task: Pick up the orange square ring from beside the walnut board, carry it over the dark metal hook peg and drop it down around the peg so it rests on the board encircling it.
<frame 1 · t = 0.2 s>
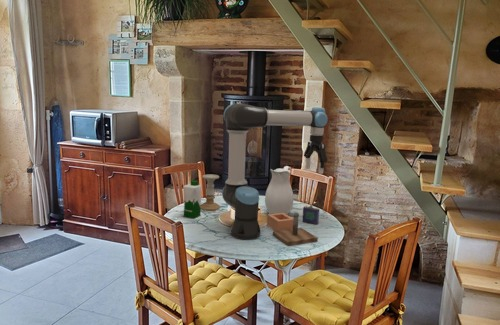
hand: (314, 171, 217), 28 cm above the table, fingers open, 13 cm apart
hook peg board: (294, 238, 187), on the table
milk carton: (191, 216, 214), on the table
pitcher: (280, 212, 229), on the table
candle holder: (209, 208, 231), on the table
orange square ring: (280, 227, 202), on the table
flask: (310, 223, 211), on the table
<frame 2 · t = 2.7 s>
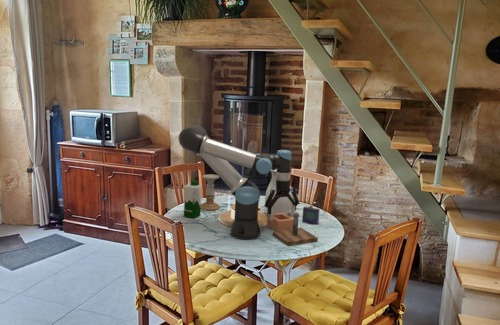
hand: (281, 218, 201), 5 cm above the table, fingers open, 13 cm apart
nothing on the table moved.
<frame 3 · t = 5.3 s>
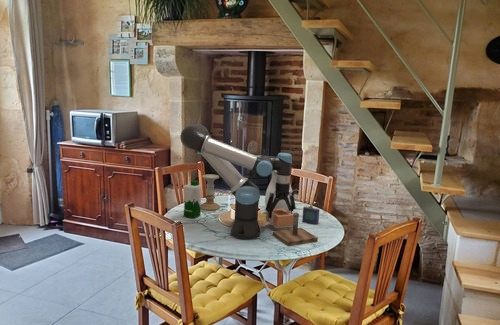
hand: (279, 222, 201), 3 cm above the table, fingers closed on orange square ring, 10 cm apart
orange square ring: (279, 223, 201), point 2 cm above the table, touching gripper
everything else where it was.
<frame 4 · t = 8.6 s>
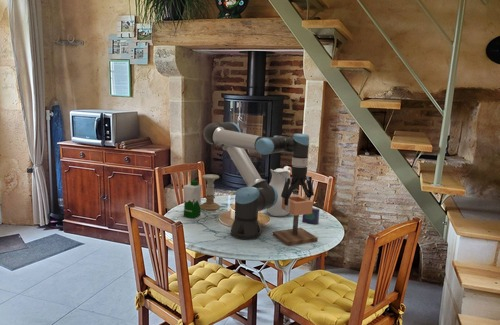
hand: (296, 210, 185), 14 cm above the table, fingers closed on orange square ring, 10 cm apart
orange square ring: (296, 210, 185), point 14 cm above the table, touching gripper
everything else where it was.
when the fingers open (3 cm above the table, at t = 11.8 s): orange square ring stays where it is, resting on hook peg board.
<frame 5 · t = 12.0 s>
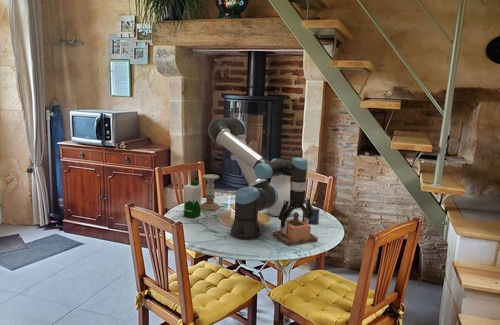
hand: (295, 231, 186), 3 cm above the table, fingers open, 12 cm apart
orange square ring: (294, 234, 187), point 2 cm above the table, touching hook peg board
everything else where it was.
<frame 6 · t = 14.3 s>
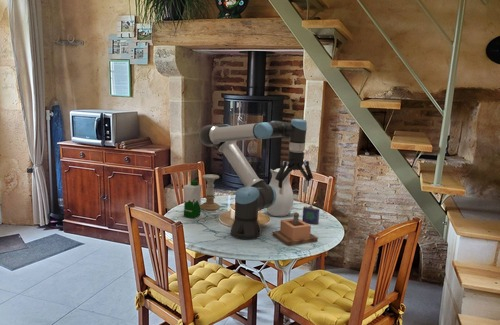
hand: (293, 193, 186), 22 cm above the table, fingers open, 13 cm apart
nothing on the table moved.
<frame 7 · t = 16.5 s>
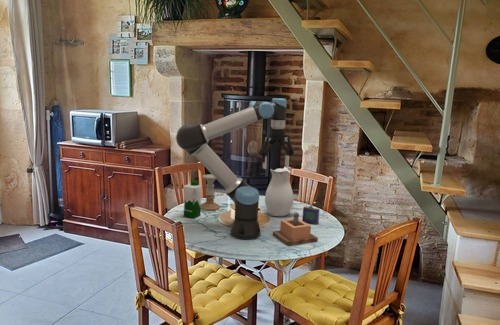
hand: (275, 168, 200), 32 cm above the table, fingers open, 13 cm apart
nothing on the table moved.
at the end: orange square ring 0.1 cm off-centre on the hook peg board, point 2.0 cm above the hook peg board's base; orange square ring tilted 0°; the gripper is holding nothing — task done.
